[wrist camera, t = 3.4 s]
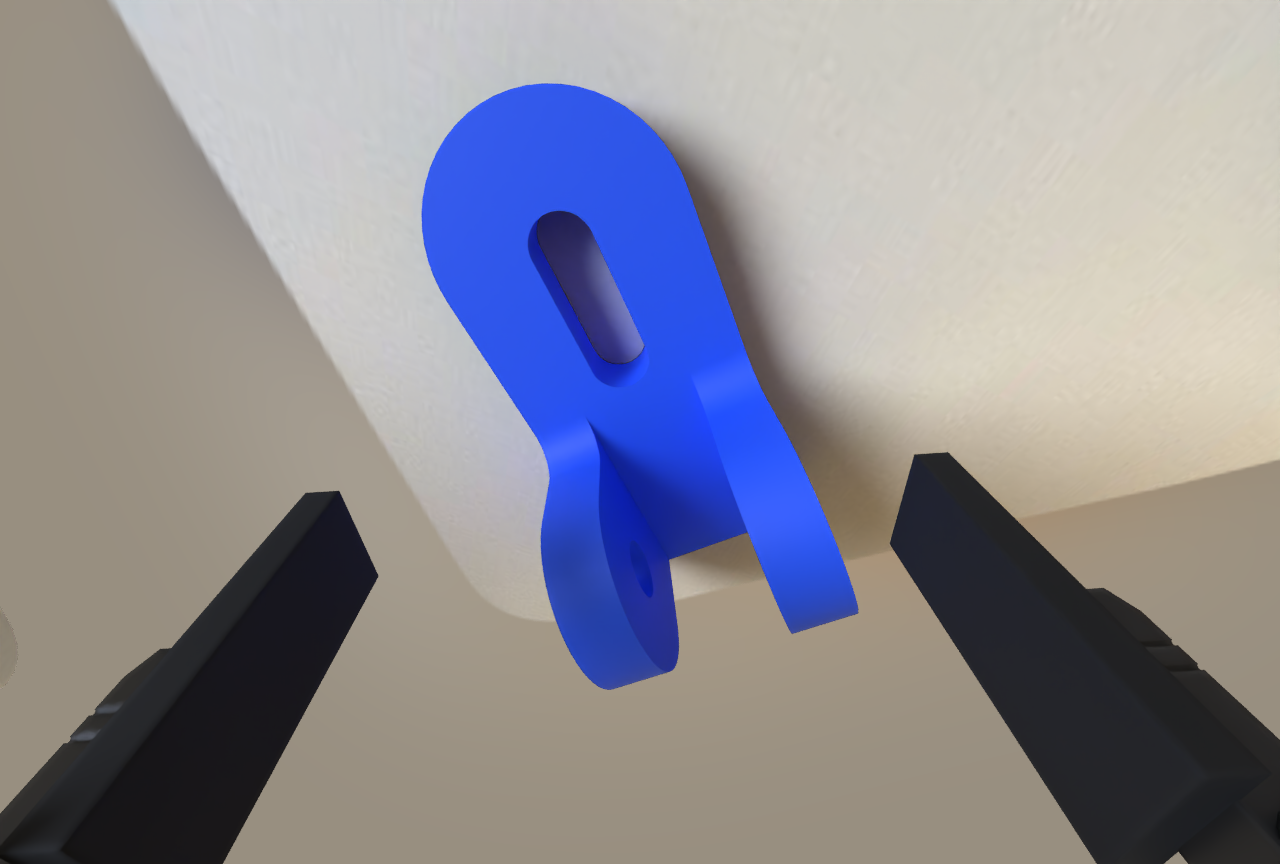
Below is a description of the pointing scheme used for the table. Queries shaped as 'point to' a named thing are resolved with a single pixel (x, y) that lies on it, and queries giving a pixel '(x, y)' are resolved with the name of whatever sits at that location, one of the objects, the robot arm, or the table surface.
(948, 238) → the table surface
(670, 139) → the table surface
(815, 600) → the bracket
